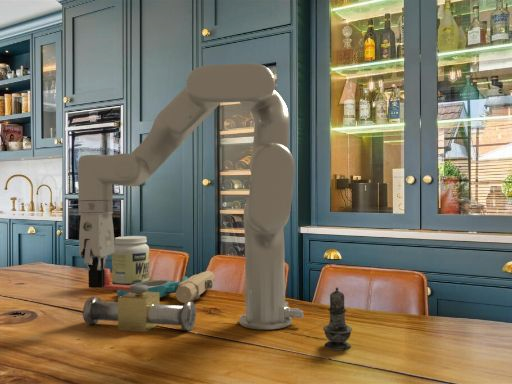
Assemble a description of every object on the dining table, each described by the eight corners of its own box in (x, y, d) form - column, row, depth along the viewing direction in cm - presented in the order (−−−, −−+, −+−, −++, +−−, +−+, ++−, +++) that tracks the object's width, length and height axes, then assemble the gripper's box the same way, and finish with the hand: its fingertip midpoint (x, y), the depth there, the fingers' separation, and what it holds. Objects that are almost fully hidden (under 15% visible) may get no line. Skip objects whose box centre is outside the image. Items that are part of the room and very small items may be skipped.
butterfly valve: (97, 316, 128) (200, 308, 122) (94, 292, 128) (197, 282, 122) (139, 295, 154) (224, 287, 149) (136, 275, 154) (222, 266, 149)
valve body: (196, 325, 108) (196, 291, 108) (185, 334, 102) (184, 298, 102) (99, 319, 115) (98, 287, 115) (82, 327, 108) (81, 293, 108)
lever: (151, 290, 109) (150, 270, 109) (141, 293, 106) (141, 273, 106) (105, 286, 114) (105, 267, 114) (94, 290, 110) (94, 270, 110)
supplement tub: (137, 292, 145) (136, 239, 145) (104, 290, 149) (103, 238, 149) (156, 285, 157) (156, 235, 157) (126, 283, 160) (125, 235, 160)
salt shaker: (332, 339, 97) (331, 283, 97) (357, 345, 93) (356, 286, 93) (317, 346, 93) (316, 287, 93) (343, 353, 89) (342, 291, 89)
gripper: (99, 209, 99) (100, 294, 99) (122, 206, 114) (123, 280, 114) (65, 209, 99) (66, 294, 99) (93, 207, 114) (93, 280, 114)
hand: (96, 286), depth 106 cm, fingers closed
